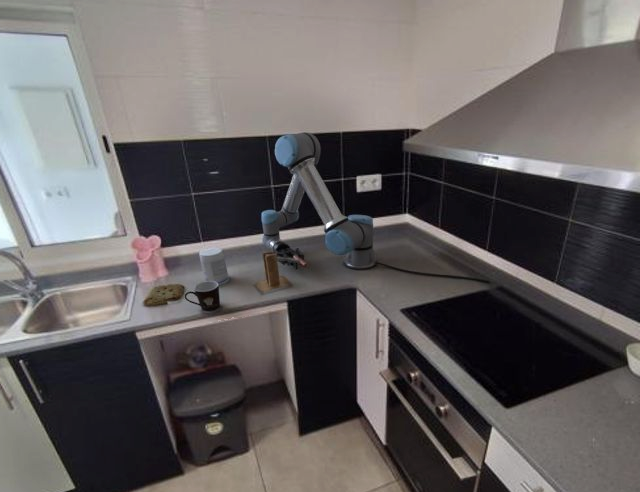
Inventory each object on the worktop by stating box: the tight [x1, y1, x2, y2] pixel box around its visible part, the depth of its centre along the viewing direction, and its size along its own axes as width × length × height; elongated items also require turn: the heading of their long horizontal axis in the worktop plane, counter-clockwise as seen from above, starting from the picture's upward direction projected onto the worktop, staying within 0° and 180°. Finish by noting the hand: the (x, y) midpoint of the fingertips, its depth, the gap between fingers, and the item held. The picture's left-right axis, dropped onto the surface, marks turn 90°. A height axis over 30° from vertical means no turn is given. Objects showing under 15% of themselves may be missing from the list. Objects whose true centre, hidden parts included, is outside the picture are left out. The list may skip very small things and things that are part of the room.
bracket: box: [254, 250, 293, 292], centre depth 158 cm, size 13×10×15 cm
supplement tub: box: [198, 247, 230, 286], centre depth 162 cm, size 10×10×15 cm
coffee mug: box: [184, 280, 221, 312], centre depth 142 cm, size 12×9×10 cm
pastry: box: [142, 283, 185, 307], centre depth 153 cm, size 17×17×3 cm
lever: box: [265, 254, 308, 268], centre depth 160 cm, size 16×11×2 cm
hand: (300, 265), depth 163 cm, fingers closed on lever, 3 cm apart
